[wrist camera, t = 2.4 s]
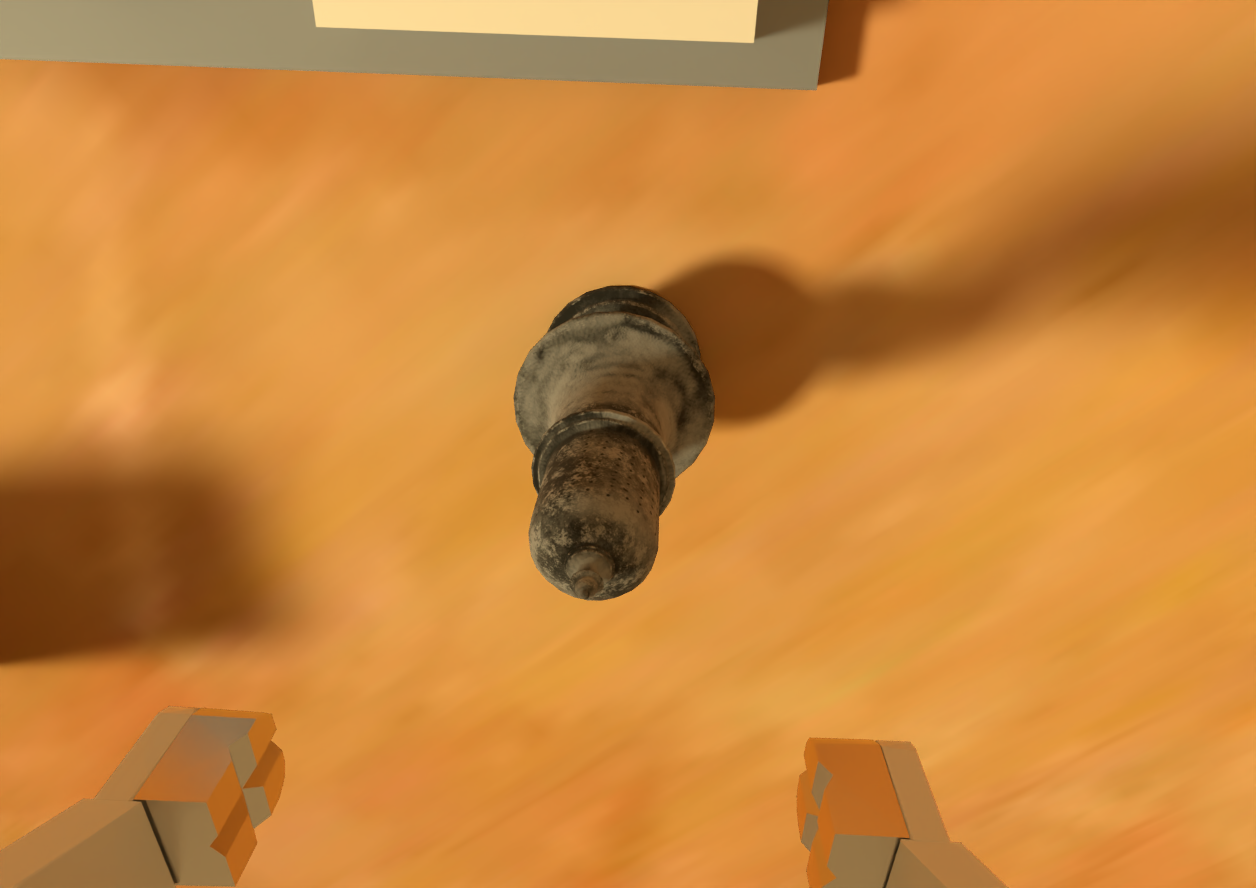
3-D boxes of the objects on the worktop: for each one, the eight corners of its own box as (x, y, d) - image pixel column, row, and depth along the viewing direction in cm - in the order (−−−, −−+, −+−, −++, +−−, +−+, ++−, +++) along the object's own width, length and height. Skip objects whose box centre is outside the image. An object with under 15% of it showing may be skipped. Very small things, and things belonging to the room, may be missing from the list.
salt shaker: (668, 247, 23) (665, 418, 13) (735, 406, 26) (779, 661, 15) (501, 318, 25) (375, 527, 14) (579, 463, 27) (521, 735, 17)
